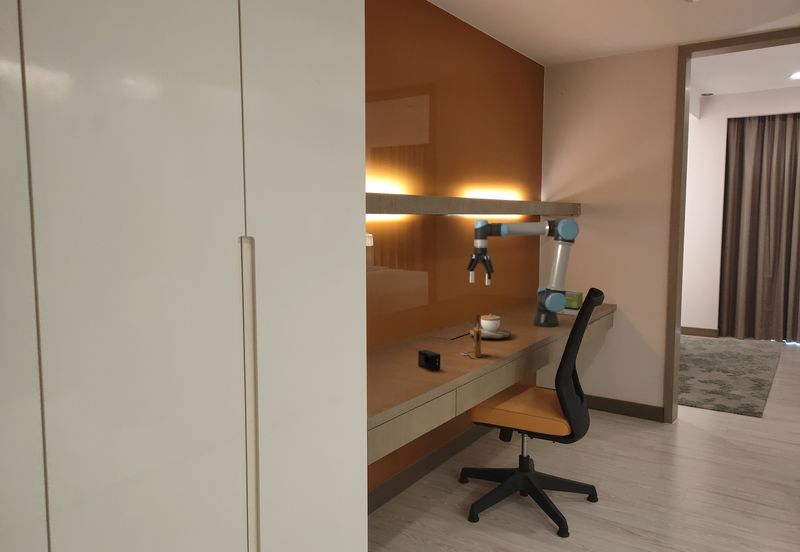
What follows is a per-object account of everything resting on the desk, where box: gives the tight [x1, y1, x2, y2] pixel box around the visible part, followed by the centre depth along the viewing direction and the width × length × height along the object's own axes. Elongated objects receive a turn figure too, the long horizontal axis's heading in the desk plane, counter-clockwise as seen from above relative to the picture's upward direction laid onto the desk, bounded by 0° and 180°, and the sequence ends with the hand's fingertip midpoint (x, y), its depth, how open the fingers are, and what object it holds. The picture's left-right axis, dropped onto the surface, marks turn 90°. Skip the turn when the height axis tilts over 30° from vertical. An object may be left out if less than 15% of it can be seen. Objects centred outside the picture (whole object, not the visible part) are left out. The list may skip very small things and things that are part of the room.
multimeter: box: [461, 313, 482, 360], centre depth 290 cm, size 15×10×20 cm
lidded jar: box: [480, 313, 501, 332], centre depth 333 cm, size 11×11×9 cm
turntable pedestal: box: [481, 337, 499, 340], centre depth 334 cm, size 10×10×1 cm
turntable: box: [469, 327, 512, 339], centre depth 334 cm, size 22×22×2 cm
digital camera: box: [417, 349, 441, 372], centre depth 268 cm, size 10×5×7 cm, turn 36°
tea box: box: [557, 290, 584, 316], centre depth 413 cm, size 15×10×15 cm
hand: (479, 283), depth 353 cm, fingers open, 13 cm apart
